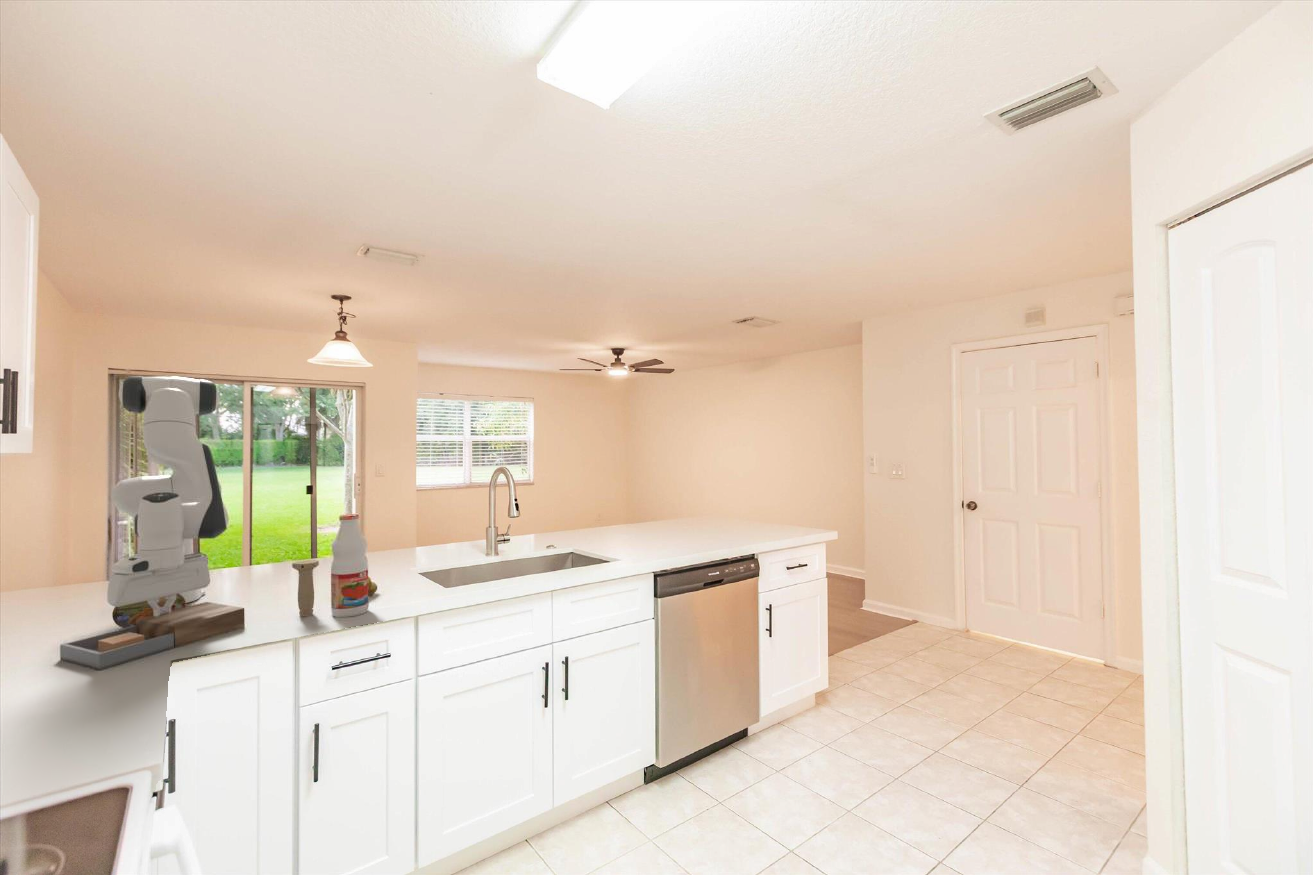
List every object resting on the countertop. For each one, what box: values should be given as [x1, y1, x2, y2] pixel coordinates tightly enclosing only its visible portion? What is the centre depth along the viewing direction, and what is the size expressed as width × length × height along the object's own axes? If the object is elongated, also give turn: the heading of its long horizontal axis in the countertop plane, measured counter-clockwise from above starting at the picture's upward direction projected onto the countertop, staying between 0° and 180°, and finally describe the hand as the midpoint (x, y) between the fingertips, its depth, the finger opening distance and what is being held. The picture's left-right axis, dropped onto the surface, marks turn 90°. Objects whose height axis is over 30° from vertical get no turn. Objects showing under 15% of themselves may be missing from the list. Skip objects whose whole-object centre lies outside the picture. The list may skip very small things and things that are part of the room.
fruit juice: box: [330, 513, 370, 618], centre depth 165 cm, size 9×9×28 cm
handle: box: [291, 559, 320, 617], centre depth 163 cm, size 5×6×15 cm
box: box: [59, 626, 175, 671], centre depth 135 cm, size 16×14×4 cm
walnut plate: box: [136, 601, 245, 648], centre depth 149 cm, size 16×16×5 cm
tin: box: [111, 594, 187, 629], centre depth 156 cm, size 15×3×8 cm, turn 117°
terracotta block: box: [98, 632, 144, 652], centre depth 135 cm, size 6×6×3 cm
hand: (162, 614), depth 143 cm, fingers closed
